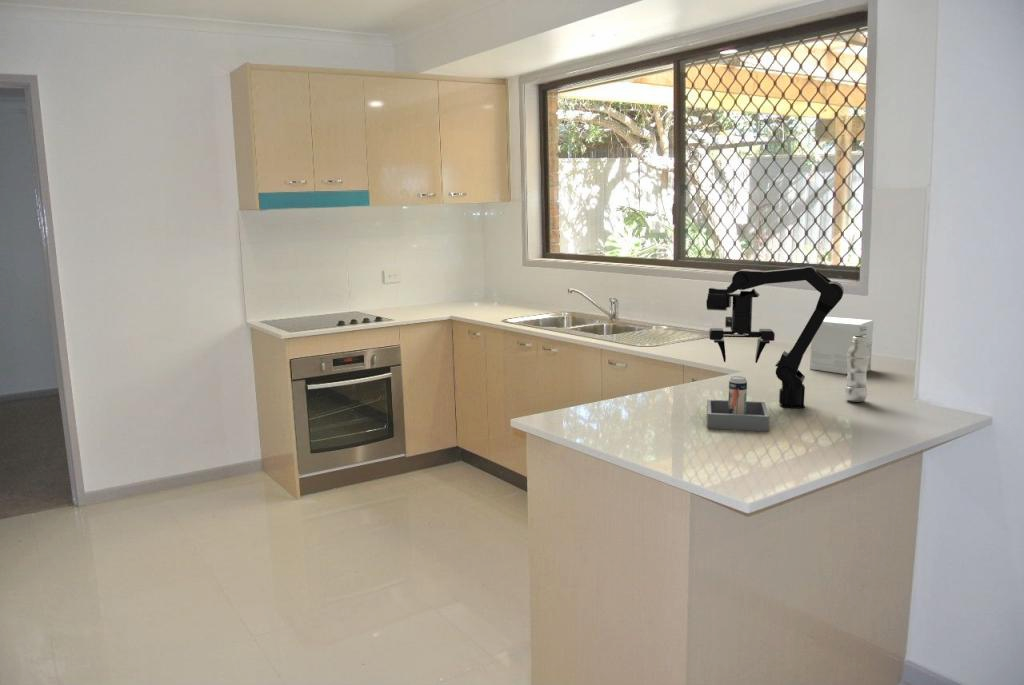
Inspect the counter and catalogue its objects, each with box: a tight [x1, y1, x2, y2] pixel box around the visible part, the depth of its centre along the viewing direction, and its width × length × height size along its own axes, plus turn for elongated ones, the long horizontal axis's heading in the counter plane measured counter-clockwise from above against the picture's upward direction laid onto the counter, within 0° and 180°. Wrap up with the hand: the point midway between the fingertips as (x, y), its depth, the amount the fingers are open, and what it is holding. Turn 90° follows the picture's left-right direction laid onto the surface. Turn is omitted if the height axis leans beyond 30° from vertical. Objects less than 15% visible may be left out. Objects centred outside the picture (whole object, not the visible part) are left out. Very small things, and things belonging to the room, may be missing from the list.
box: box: [706, 399, 770, 432], centre depth 225 cm, size 16×16×4 cm
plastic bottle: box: [843, 336, 870, 403], centre depth 243 cm, size 6×7×20 cm
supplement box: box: [809, 316, 874, 375], centre depth 288 cm, size 17×13×18 cm
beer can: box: [728, 375, 748, 415], centre depth 224 cm, size 5×5×12 cm
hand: (740, 362), depth 246 cm, fingers open, 9 cm apart
